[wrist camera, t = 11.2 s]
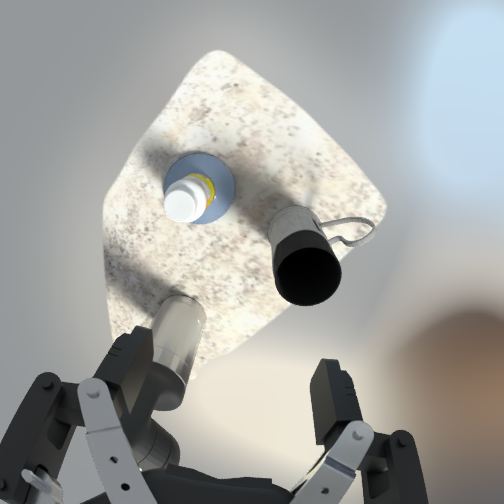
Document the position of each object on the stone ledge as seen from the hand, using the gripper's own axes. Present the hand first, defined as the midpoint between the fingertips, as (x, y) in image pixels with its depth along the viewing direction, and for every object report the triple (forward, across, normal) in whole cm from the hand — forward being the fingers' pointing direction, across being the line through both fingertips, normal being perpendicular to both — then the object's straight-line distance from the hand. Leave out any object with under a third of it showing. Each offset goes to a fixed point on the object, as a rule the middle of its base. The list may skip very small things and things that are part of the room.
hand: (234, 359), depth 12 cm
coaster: (+32, +9, 0) cm, 33 cm away
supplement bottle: (+31, +9, 0) cm, 33 cm away
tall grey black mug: (+32, -9, +2) cm, 34 cm away
